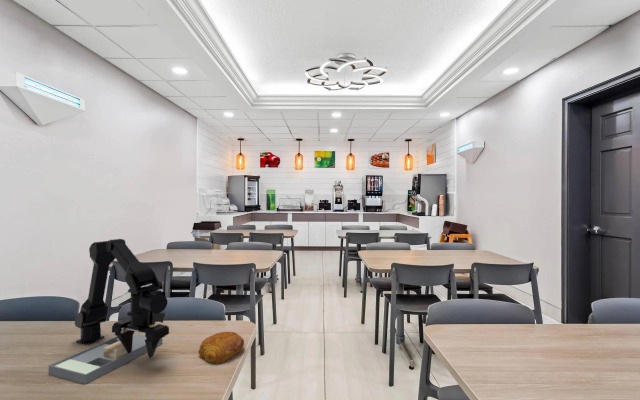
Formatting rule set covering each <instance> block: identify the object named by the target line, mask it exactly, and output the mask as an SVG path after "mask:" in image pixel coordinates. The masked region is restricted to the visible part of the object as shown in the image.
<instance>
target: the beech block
mask: <svg viewBox="0 0 640 400" xmlns="http://www.w3.org/2000/svg"><path fill="white" fill-rule="evenodd" d="M125 354H127V351H126V349H125V348H124V346H123V344H122V343H121V341H118V342H116V343H113V344H111V345H109V346H107V347H104V357H106V358H110V359H117V358H119V357H121V356H123V355H125Z"/></svg>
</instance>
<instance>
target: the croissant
mask: <svg viewBox="0 0 640 400" xmlns="http://www.w3.org/2000/svg"><path fill="white" fill-rule="evenodd" d="M244 345H245V340H244V338H243V337H242V335H240V334H238V333H237V332H234V331H220V332H217V333H215V334H213V335H212V334H211V335H210V336H208V337H206V338H205V339H204V340H202V341H201V344H200V345H199V349H198V354H199V358H200V359H201V360H205V361H206V362H208V363H212V364H222V363H224V362H225V361H228V360H229V359H231V358H233V357H234V356H235V355H238V354H239V353H240V351H242V349H243V347H244Z"/></svg>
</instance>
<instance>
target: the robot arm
mask: <svg viewBox="0 0 640 400" xmlns="http://www.w3.org/2000/svg"><path fill="white" fill-rule="evenodd" d="M88 250H89V251H88V252H89V258H90V259H91V261H92V262H93V267H92V273H91V280H90V283H89V284H90V285H89V289H88V290H89V291H88V296H87V299H86V300H85V301H84V303H82V304H81V306H80V309H79V312H78V314H77V315H76V316H75V319H74V326H75V327H76V328H78V329H80V339H77V340H76V341H75V342H76V343H79V344H82V345H83V344H84V345H91V344H93V343H95V342H98V341H100V340H103V339H104V338H105V336H103V335H102V327H101V323H105V322H106V321H107V316H108V309H109V306H108V305H107V303H106V302H105V301H104V296H105V293H106V292H105V291H106V288H107V280H108V274H109V269H110V265H111V264H112V263H113V262H114V261H115V260H116V262H117V263H118V264H119V265H120V266H121V268H122V270H124V272H125V275H124V279H125V281H126V284H127V286H128V288H129V289H128V290H127V292H128V293H130V310H129V311H127V313H126V314H127V315H126V316H129V318H124V319H121V320H119V321H116V322H114V323H113V324H112V326H111V333H113V334H114V336H115V337H118V338H119V340H120V341H121V343H122V344H123V346H124V348H125V349H126V351H127V353H131V352H132V342H133V334H134V333H135V332H139V333H144V335H145V337H146V338H147V339H146V340H145V343H146V348H147V352H146V353H147V355H148V356H147V357H148V358H149V359H152V358H153V357H154V356H155V352H156V349H157V347H158V346H157V345H158V342H159V340H160V339H161V338H162V339H163V338H164V337H166V336H167V335H170V327H169V326H168V325H166V324H160V323H164V319H165V316H166V312H163V311H165V309H166V308H167V305H168V302H169V301H168V299H167V296H166V295H164V294H163V293H162V290H160V289H161V286H160V281H159V279H158V277H157V276H156V273H155V271H154V269H153V268H152V267H150V265H148V264H147V263H144V262H141V261H140V260H138V258H137V257H136V256H135V254H134V253H133V251H132V250H131V249H130V248H129V247H128V245H127V244H126V240H125V239H123V238H117V239H116V238H115V239H109V240H106V241H105V240H103V241H94V242H92V243H91V245H90V246H89V249H88ZM156 323H159V324H156ZM153 324H154V325H153ZM155 324H156V325H155ZM150 325H153V326H152V327H150Z"/></svg>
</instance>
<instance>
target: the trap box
mask: <svg viewBox="0 0 640 400" xmlns="http://www.w3.org/2000/svg"><path fill="white" fill-rule="evenodd" d="M146 339H147V338H146V337H145V334H141V333H137V332H136V333H135V332H134V334H133V342H132V352H131V353H127V354H125V355H123V356H121V357H119V358H117V359H110V358H106V357H104V347H107V346H109V345H111V344H113V343H116V342H118V341H120V340H119V338H118V337H117V336H115V337H112V338H109V339H107V340H105V341H103V342H100V343H98V344H95V345H93V346H91V347H89V348H86V349H84V350H82V351H80V352H77V353H75V354H73V355H71V356H68V357H65V358H63V359H61V360H58V361H56V362H54V363H52V364H49V365H48V375H50V376H53V377H57V378H60V379H64V380H68V381H71V382H75V383H78V384H82V385H88V384H89V383H91V382H94V381H95V380H96V379H99V378H100V377H103V376H105V375H106V374H108V373H110V372H112V371H113V370H116V369H117V368H120V367H121V366H123V365H125V364H127V363H128V362H130V361H133V360H135V359H136V358H138V357H140V356H143V355H144V354H146V353H148V352H147V348H146V343H145V340H146ZM161 345H163V338H161V339H160V340H159V342H158V345H157V347H159V346H161Z"/></svg>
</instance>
